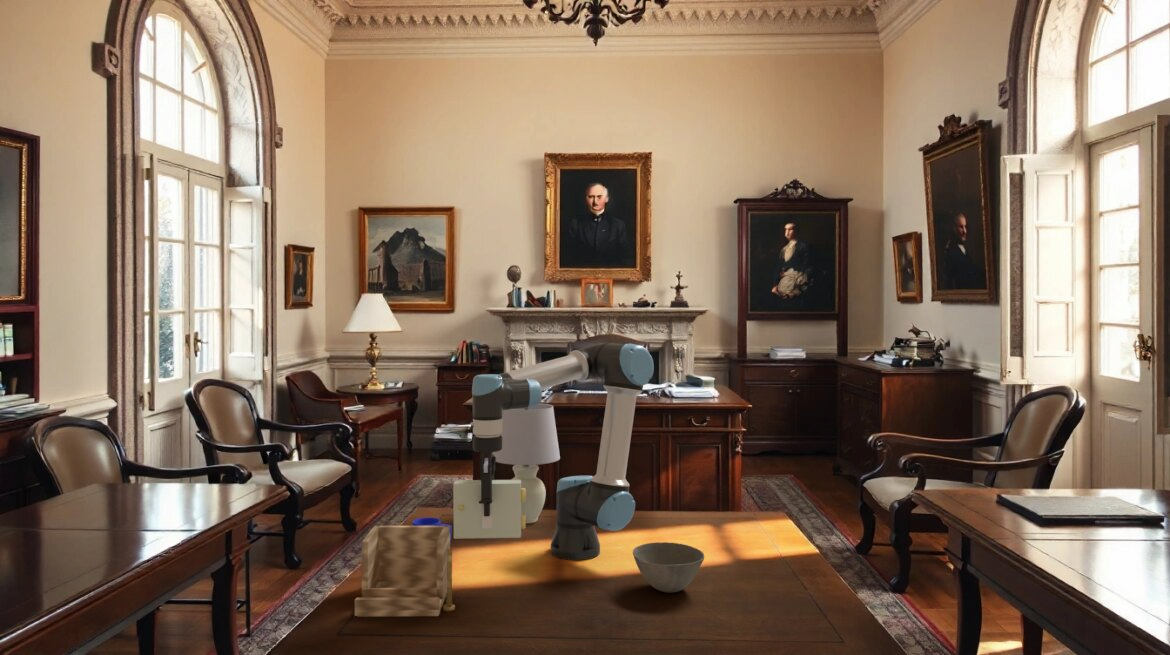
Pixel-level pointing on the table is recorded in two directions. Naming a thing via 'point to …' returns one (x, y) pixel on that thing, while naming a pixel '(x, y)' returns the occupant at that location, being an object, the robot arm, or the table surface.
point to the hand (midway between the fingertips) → (487, 525)
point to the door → (504, 509)
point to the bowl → (668, 564)
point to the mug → (430, 523)
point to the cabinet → (406, 571)
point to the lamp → (529, 451)
